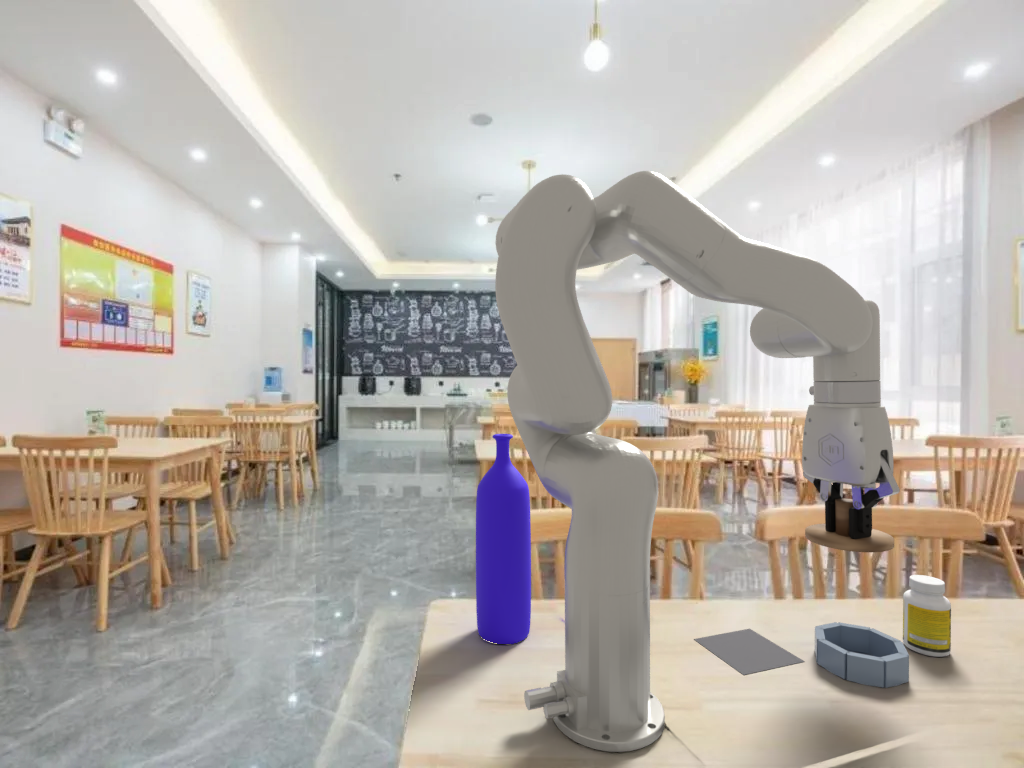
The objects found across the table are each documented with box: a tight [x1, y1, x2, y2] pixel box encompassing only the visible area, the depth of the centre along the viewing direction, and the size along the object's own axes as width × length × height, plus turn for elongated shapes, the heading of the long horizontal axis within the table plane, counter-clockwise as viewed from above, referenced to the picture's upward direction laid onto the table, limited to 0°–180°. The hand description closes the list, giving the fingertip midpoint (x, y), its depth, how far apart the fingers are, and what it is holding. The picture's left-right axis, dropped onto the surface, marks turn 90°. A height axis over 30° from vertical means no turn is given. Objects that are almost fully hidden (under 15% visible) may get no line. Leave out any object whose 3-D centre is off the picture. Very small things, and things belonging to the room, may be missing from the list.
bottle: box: [475, 433, 532, 645], centre depth 82 cm, size 8×8×30 cm
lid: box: [804, 497, 895, 553], centre depth 72 cm, size 10×10×5 cm
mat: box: [693, 628, 805, 676], centre depth 75 cm, size 10×10×1 cm
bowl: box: [814, 621, 910, 689], centre depth 71 cm, size 10×10×4 cm
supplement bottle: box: [902, 574, 952, 658], centre depth 77 cm, size 5×5×10 cm
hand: (848, 532), depth 72 cm, fingers closed on lid, 2 cm apart
